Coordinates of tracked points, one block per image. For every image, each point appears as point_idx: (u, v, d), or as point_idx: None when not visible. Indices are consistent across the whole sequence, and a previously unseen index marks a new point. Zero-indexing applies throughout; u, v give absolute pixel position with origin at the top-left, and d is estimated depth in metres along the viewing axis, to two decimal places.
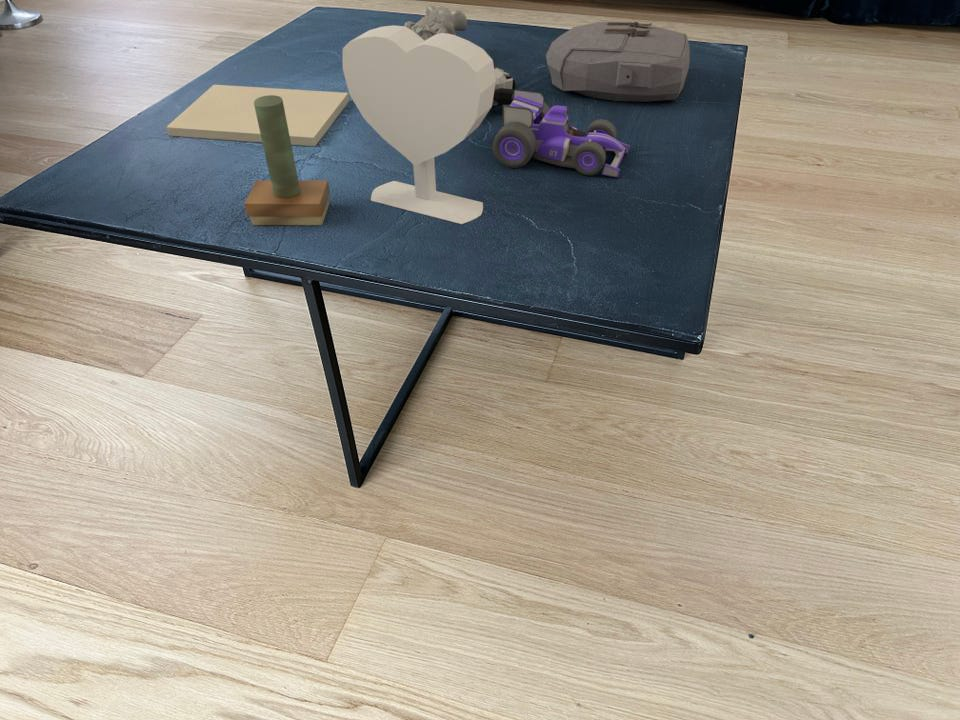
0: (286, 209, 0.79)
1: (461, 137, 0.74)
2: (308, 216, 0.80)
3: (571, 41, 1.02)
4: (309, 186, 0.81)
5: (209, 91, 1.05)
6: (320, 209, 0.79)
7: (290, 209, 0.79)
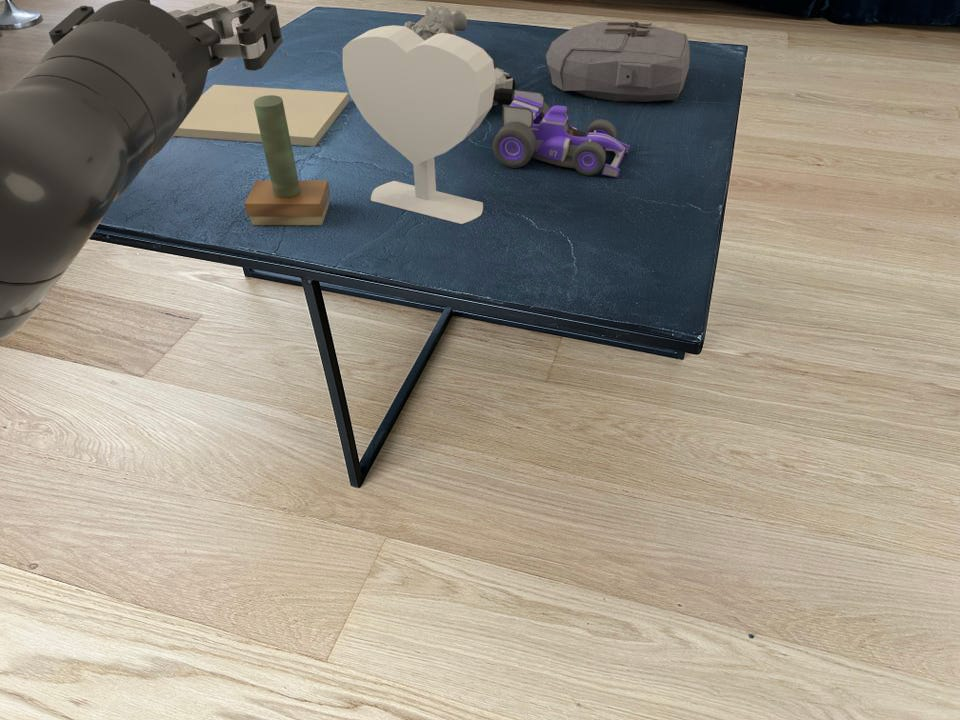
0: (286, 209, 0.79)
1: (461, 137, 0.74)
2: (308, 216, 0.80)
3: (571, 41, 1.02)
4: (309, 186, 0.81)
5: (209, 91, 1.05)
6: (320, 209, 0.79)
7: (290, 209, 0.79)
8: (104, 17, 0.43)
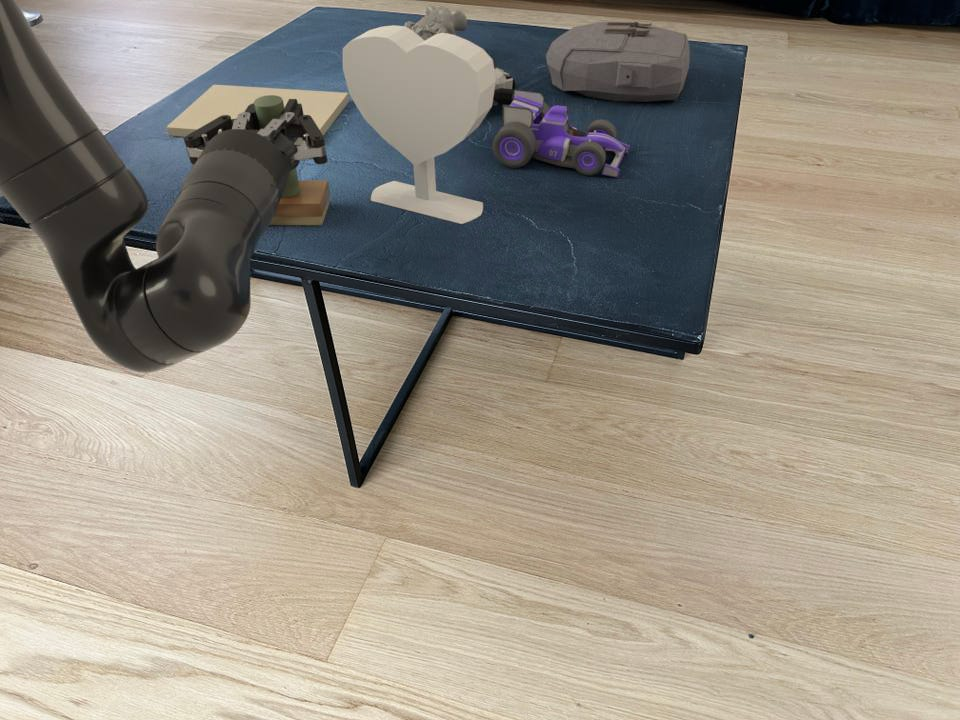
0: (286, 209, 0.79)
1: (461, 137, 0.74)
2: (308, 216, 0.80)
3: (571, 41, 1.02)
4: (309, 186, 0.81)
5: (209, 91, 1.05)
6: (320, 209, 0.79)
7: (290, 209, 0.79)
8: (225, 146, 0.63)
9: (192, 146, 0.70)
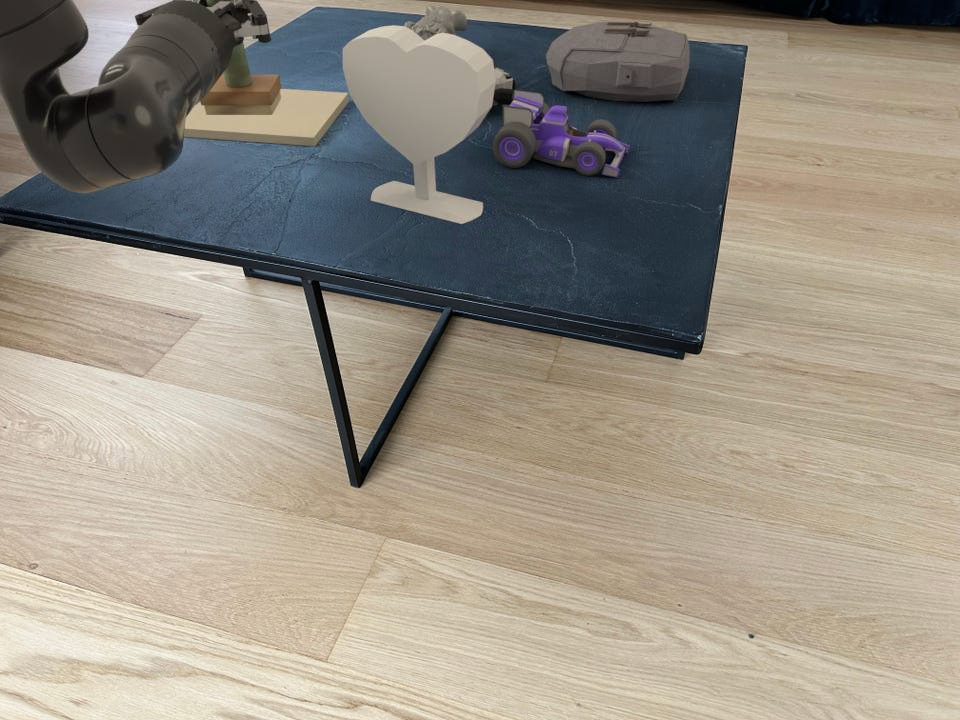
0: (237, 97, 0.83)
1: (461, 137, 0.74)
2: (259, 105, 0.84)
3: (571, 41, 1.02)
4: (261, 79, 0.85)
5: None
6: (269, 97, 0.83)
7: (241, 98, 0.83)
8: (168, 11, 0.67)
9: (143, 24, 0.74)
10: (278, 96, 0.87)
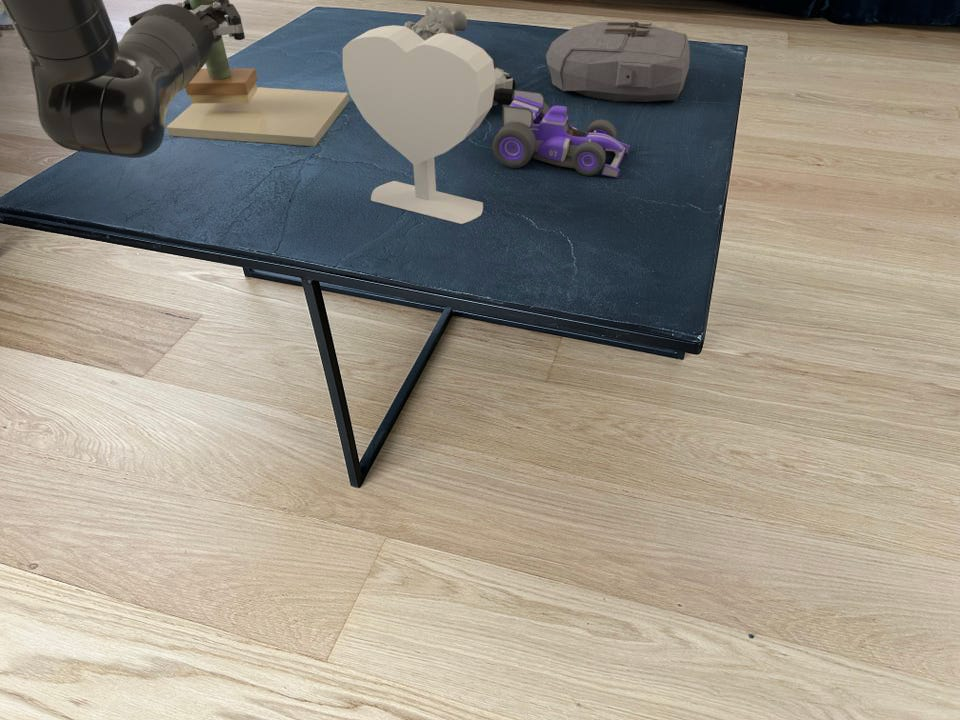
0: (218, 88, 0.96)
1: (461, 137, 0.74)
2: (237, 95, 0.97)
3: (571, 41, 1.02)
4: (239, 72, 0.98)
5: None
6: (246, 88, 0.96)
7: (221, 88, 0.96)
8: (156, 13, 0.80)
9: None
10: (254, 87, 1.00)
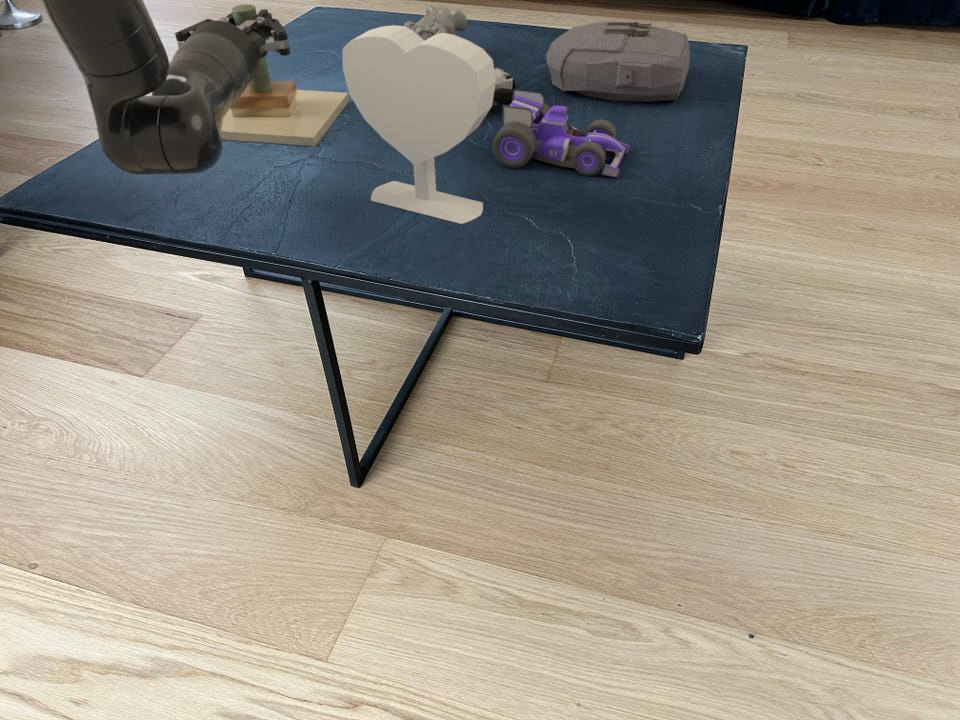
0: (260, 101, 0.97)
1: (461, 137, 0.74)
2: (278, 108, 0.97)
3: (571, 41, 1.02)
4: (279, 85, 0.99)
5: None
6: (288, 101, 0.97)
7: (263, 102, 0.97)
8: (206, 30, 0.80)
9: (182, 40, 0.87)
10: (294, 100, 1.00)
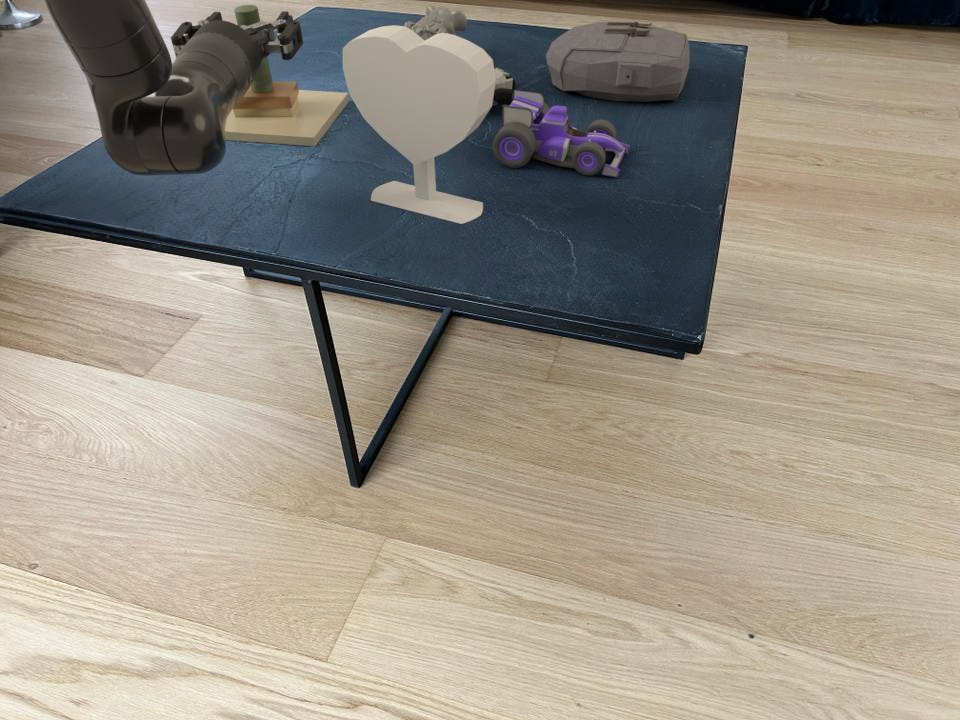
0: (262, 102, 0.97)
1: (461, 137, 0.74)
2: (280, 108, 0.97)
3: (571, 41, 1.02)
4: (281, 85, 0.99)
5: None
6: (290, 101, 0.97)
7: (265, 102, 0.97)
8: (209, 30, 0.80)
9: (180, 44, 0.86)
10: (296, 100, 1.00)
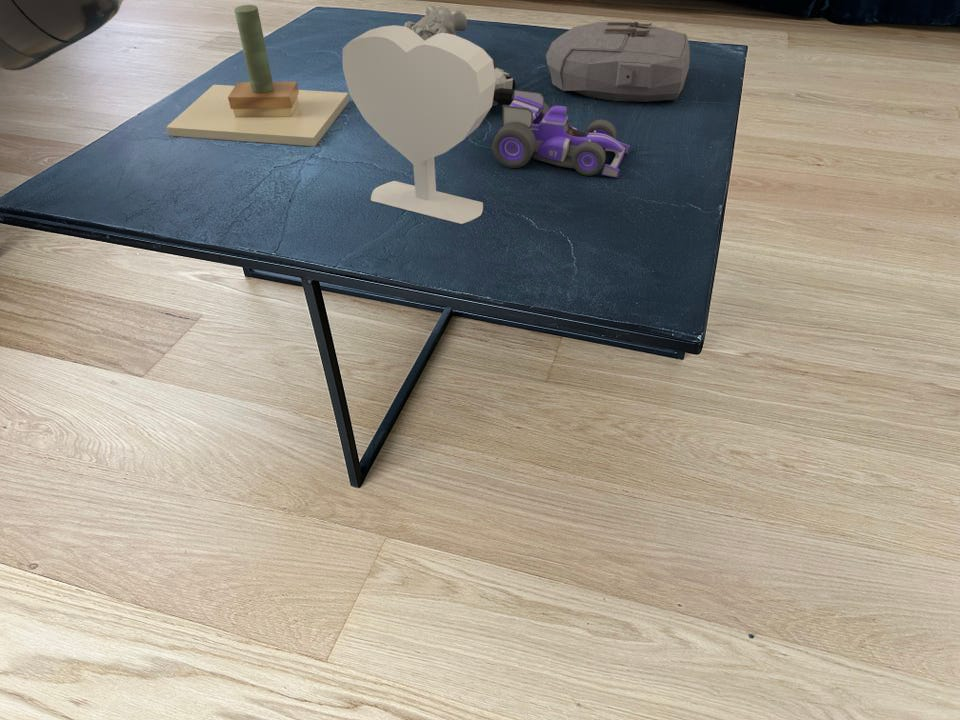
0: (262, 102, 0.97)
1: (461, 137, 0.74)
2: (280, 108, 0.97)
3: (571, 41, 1.02)
4: (281, 85, 0.99)
5: (209, 91, 1.05)
6: (290, 101, 0.97)
7: (265, 102, 0.97)
8: None
9: None
10: (296, 100, 1.00)
